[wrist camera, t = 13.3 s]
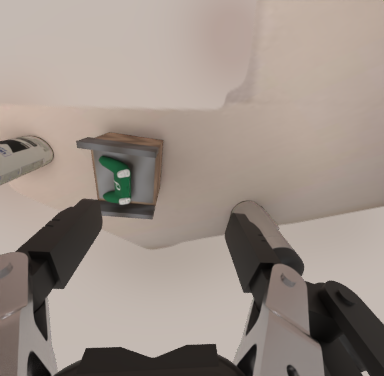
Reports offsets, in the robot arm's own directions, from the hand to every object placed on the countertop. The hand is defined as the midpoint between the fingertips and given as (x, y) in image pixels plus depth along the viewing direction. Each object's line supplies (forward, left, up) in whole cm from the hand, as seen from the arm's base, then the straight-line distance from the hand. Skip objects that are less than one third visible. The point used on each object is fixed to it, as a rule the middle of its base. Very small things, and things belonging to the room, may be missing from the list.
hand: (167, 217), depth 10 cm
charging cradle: (+9, +8, -30) cm, 32 cm away
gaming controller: (+10, +8, -21) cm, 25 cm away
